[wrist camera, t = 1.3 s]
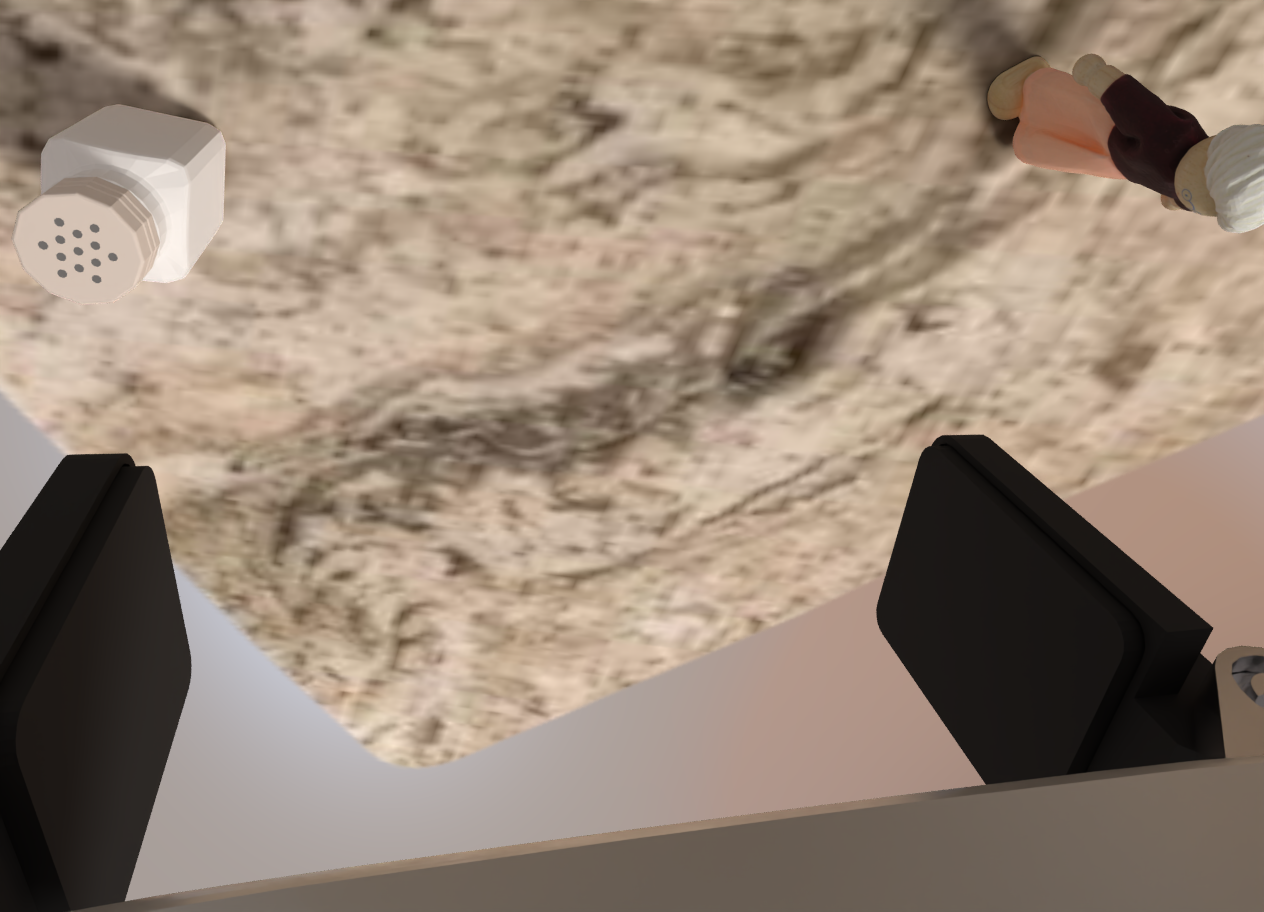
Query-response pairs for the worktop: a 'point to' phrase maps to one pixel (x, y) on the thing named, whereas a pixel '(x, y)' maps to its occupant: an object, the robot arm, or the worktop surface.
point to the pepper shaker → (122, 204)
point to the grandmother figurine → (1131, 139)
